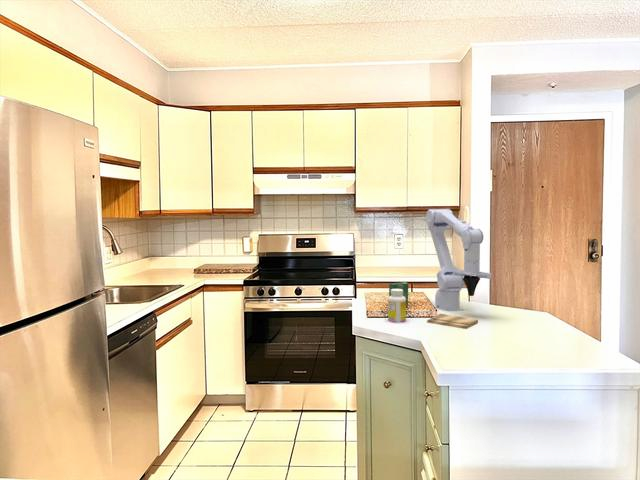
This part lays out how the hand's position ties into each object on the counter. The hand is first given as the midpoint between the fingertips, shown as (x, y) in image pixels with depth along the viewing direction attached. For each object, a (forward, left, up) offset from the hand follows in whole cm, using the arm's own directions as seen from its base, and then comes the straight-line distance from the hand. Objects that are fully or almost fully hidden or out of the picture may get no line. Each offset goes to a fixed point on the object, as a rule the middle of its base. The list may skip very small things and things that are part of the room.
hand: (471, 295), depth 186 cm
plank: (-2, -11, -8) cm, 14 cm away
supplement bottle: (-20, -22, -10) cm, 31 cm away
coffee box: (-26, -10, -10) cm, 30 cm away
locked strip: (-2, -17, -8) cm, 19 cm away
